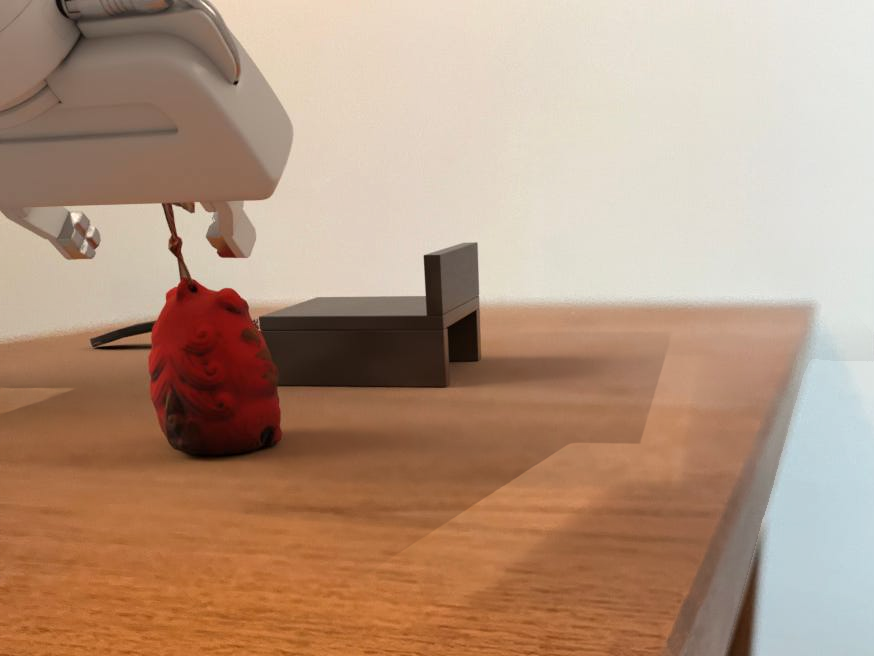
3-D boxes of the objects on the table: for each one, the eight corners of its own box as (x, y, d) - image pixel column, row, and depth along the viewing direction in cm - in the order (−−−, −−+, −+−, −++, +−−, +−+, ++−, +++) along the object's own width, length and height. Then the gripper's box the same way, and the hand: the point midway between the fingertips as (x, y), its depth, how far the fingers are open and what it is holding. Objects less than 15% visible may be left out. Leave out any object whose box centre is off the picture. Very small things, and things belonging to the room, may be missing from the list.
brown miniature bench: (266, 385, 75) (250, 258, 71) (322, 358, 86) (311, 245, 82) (446, 387, 72) (440, 254, 69) (481, 358, 83) (477, 242, 79)
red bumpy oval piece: (310, 437, 60) (280, 159, 53) (235, 467, 54) (192, 160, 48) (210, 428, 63) (171, 165, 56) (130, 456, 57) (75, 166, 51)
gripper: (220, -90, 37) (359, 194, 49) (-189, -34, 43) (26, 204, 55) (167, 39, 35) (326, 300, 47) (-252, 77, 41) (-15, 298, 54)
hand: (161, 248), depth 51 cm, fingers open, 8 cm apart
